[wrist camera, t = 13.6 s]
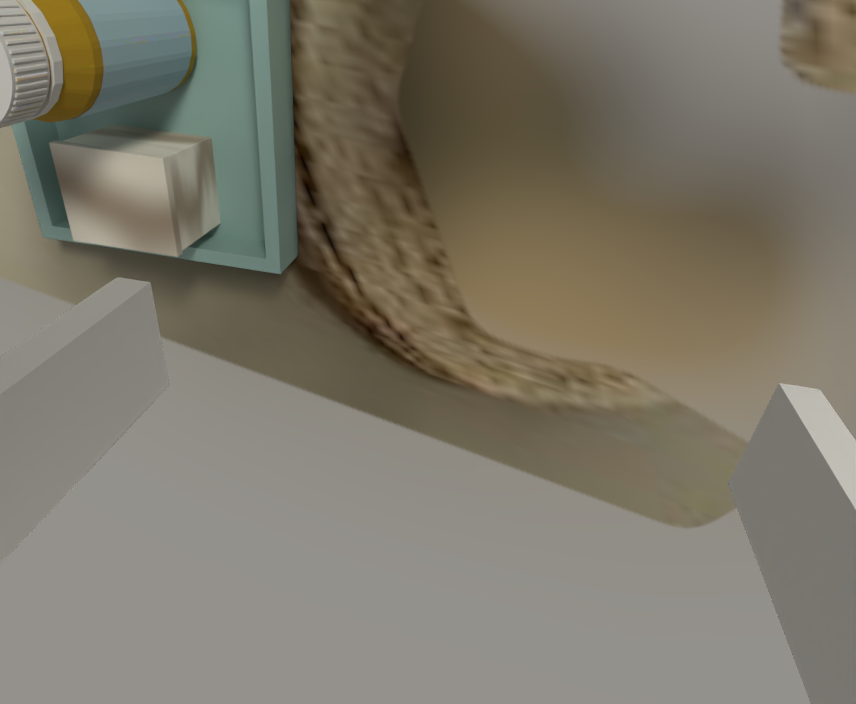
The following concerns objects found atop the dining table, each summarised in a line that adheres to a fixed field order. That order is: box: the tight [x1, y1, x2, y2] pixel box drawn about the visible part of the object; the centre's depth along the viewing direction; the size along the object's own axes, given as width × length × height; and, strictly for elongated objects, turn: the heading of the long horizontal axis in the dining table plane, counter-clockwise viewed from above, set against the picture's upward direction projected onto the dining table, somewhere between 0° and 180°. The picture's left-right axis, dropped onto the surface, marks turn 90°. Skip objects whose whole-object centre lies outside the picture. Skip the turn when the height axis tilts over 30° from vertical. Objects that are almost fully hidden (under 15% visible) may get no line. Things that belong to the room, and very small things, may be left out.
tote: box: [12, 0, 298, 274], centre depth 38 cm, size 20×18×4 cm
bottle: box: [0, 0, 196, 128], centre depth 30 cm, size 7×7×15 cm
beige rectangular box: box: [49, 124, 221, 257], centre depth 39 cm, size 6×7×6 cm
